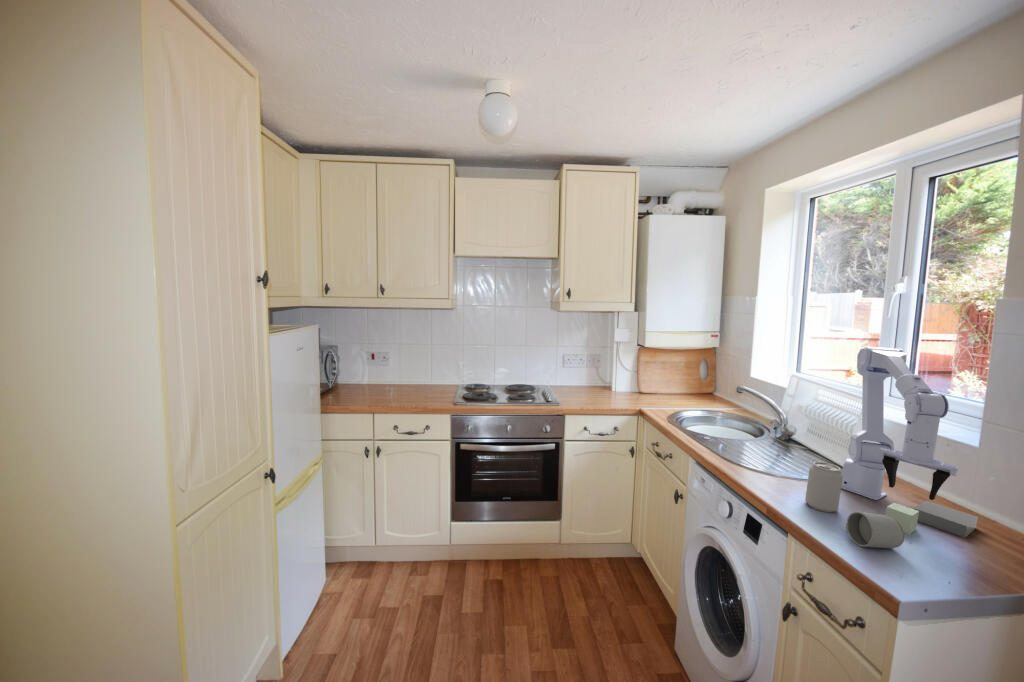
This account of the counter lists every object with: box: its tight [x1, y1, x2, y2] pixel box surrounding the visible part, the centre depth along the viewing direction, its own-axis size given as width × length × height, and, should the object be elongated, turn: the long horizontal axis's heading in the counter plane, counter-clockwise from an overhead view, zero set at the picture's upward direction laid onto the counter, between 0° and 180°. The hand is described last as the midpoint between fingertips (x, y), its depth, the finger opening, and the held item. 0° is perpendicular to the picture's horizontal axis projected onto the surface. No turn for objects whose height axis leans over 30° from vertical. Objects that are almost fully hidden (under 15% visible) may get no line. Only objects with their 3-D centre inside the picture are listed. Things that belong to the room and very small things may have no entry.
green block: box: [885, 502, 919, 535], centre depth 111 cm, size 5×5×5 cm
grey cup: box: [845, 511, 905, 549], centre depth 103 cm, size 11×8×8 cm
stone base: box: [913, 500, 979, 539], centre depth 114 cm, size 10×10×3 cm
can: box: [805, 461, 843, 513], centre depth 119 cm, size 8×8×12 cm
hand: (911, 492), depth 110 cm, fingers open, 7 cm apart
